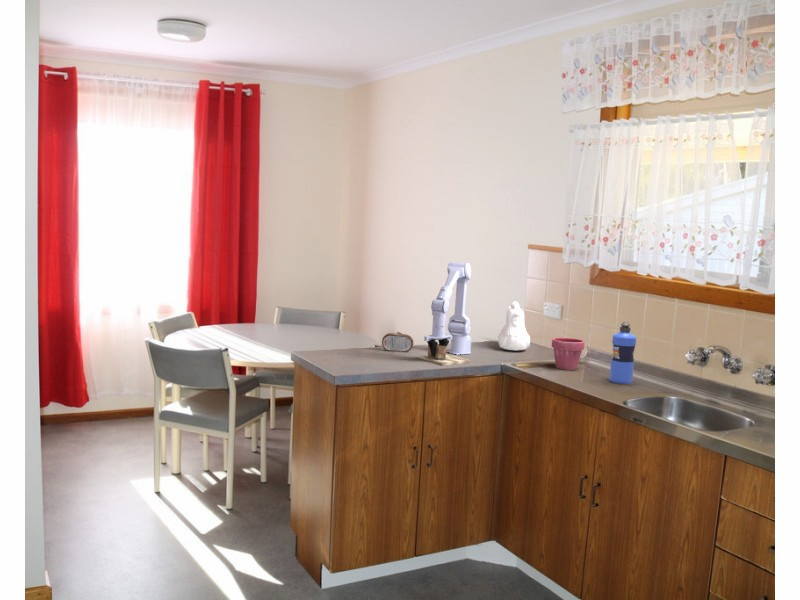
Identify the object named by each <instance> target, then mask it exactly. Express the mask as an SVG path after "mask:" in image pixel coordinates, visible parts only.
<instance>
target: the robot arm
mask: <svg viewBox="0 0 800 600" xmlns="http://www.w3.org/2000/svg"><path fill="white" fill-rule="evenodd" d="M446 271H447V278H446V281H445V283H444V286H441V287H440V289H439V291H438V294H437V296H436V298H434V300H432V301H431V305H430V308H431V309H430V310H431V316H432V330H431V335H424V337H423V341H425V342H426V343H427V346H428V345H429V347H430V351H431V356H433V357H435V355H436V348H437V344H439V345H442V346H446V348H447V347H448V345H449V343H450V349H449V350H446V353H448V352H449V353H448V354H451V355H455V354H456V355H455V356H459V355H460V354H461V355H471V354H472V352H471V349H472V339H471V336H470V335H469V334H470V333H471V328H472V327H471V319H470V318H469V316H468V315H466V301H467V289H468V281H470V280H471V277H472V276H471V275H472V266H471V264H470V263H469V262H458V261H457V262H456V261H449V262H448V264H447V270H446ZM455 285H456V289H455V290H456V291H455V302H454V303H455V304H454V314H453V315H451V316H450V317H449V319H448V323H447V331H448V333H449V334H446V322H447V321H446V320H447V312H448V311H449V307H450V300H451V298H452V295H453V293H454V292H453V288H454V286H455Z"/></svg>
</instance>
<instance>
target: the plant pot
mask: <svg viewBox="0 0 800 600" xmlns="http://www.w3.org/2000/svg"><path fill="white" fill-rule="evenodd" d="M551 340H552V341H551V348H552V349H553V355H554V362H555V367H556V369H561V370H568V371H572V370H577V368H578V366H579V362H580V359H581V356H582V355H581V354H582V351H584V349H585V341H584V340H583V339H579V338H572V337H553V338H552V339H551Z"/></svg>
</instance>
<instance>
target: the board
mask: <svg viewBox="0 0 800 600" xmlns="http://www.w3.org/2000/svg"><path fill="white" fill-rule="evenodd" d="M418 357H419V358H418ZM417 358H418V359H420V358H422V359H421V360H423V359H424V360H425V361H427V362H431V363H432V364H433V363H434V364H436V365H440V366H450V365H461V364H468V363H469V364H470V363H471V359H466V358H463V357H460V356H458V355H455V354H451V353H448V352H446V359H445V360H435V359H432V358H429V357H428V354H422V355H420V354H419V355H418V356H417Z"/></svg>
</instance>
